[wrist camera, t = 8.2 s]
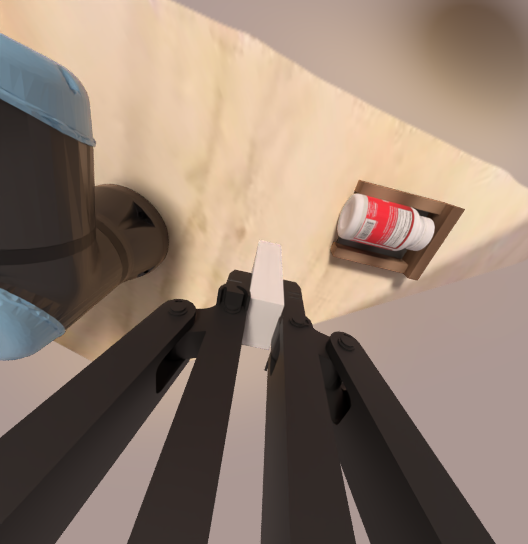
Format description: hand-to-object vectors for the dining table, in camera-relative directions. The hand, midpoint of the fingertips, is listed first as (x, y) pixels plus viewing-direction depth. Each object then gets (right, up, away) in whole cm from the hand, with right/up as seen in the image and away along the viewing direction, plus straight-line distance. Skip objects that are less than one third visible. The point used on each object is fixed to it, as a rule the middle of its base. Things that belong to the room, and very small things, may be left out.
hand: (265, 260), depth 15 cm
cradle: (+18, +6, +19) cm, 27 cm away
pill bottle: (+11, +7, +15) cm, 20 cm away
